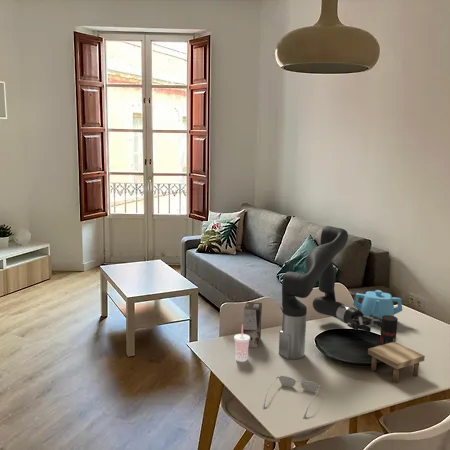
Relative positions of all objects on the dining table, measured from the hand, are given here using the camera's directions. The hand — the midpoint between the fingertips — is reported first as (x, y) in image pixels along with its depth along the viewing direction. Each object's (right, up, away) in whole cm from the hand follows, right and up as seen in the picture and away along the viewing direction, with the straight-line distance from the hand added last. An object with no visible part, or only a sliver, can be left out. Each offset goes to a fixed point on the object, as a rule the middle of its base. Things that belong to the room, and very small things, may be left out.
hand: (377, 328), depth 215 cm
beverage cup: (-56, -10, -11) cm, 57 cm away
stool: (+1, -13, -19) cm, 23 cm away
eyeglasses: (-40, -17, -40) cm, 59 cm away
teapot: (+8, -3, +31) cm, 32 cm away
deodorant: (+3, -10, -3) cm, 10 cm away
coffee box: (-51, -7, +5) cm, 51 cm away
